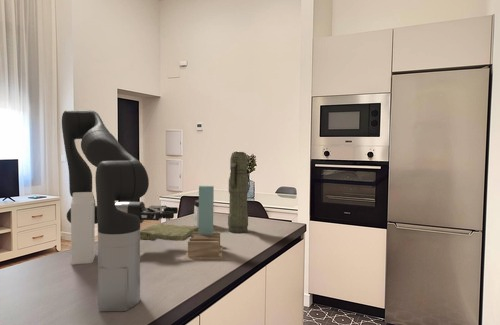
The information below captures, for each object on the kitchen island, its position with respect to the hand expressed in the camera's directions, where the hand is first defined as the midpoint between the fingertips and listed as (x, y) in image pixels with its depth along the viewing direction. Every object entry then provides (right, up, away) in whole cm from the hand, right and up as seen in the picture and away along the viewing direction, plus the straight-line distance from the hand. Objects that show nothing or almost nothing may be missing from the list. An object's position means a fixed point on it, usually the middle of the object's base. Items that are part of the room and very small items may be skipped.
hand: (175, 212), depth 121 cm
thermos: (+21, -13, +30) cm, 39 cm away
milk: (-27, -14, -12) cm, 33 cm away
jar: (+5, -12, +39) cm, 42 cm away
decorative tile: (-8, -13, +21) cm, 26 cm away
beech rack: (+11, -14, -3) cm, 18 cm away
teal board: (+11, -13, +1) cm, 16 cm away
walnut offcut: (+11, -13, -3) cm, 17 cm away
